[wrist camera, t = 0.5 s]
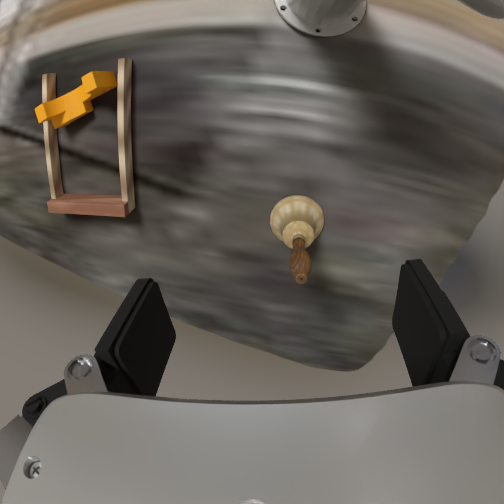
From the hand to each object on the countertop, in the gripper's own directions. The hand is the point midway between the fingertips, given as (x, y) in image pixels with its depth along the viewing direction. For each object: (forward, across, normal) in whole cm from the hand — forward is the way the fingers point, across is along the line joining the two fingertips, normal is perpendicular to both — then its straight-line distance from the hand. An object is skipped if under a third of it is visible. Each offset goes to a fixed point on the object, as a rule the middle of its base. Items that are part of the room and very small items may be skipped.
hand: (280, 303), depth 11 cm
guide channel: (+35, +30, -6) cm, 46 cm away
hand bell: (+35, -1, +12) cm, 37 cm away
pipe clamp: (+35, +28, -12) cm, 47 cm away
